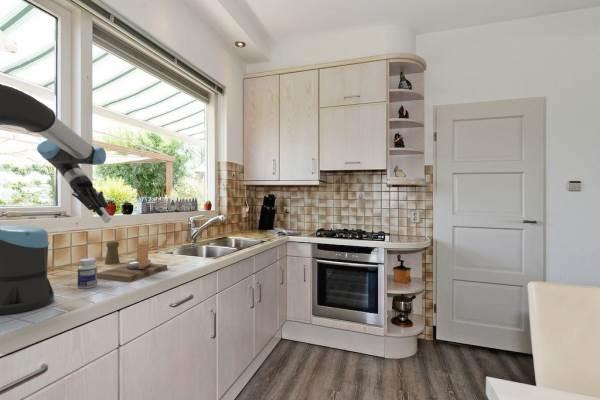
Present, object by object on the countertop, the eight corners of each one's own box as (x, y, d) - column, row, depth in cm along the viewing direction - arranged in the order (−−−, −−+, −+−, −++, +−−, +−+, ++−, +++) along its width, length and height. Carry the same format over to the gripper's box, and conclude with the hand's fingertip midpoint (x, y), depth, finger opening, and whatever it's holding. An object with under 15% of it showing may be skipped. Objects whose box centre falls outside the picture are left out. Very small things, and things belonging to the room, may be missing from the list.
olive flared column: (122, 262, 144) (122, 240, 144) (113, 265, 138) (113, 242, 138) (111, 261, 145) (111, 239, 145) (101, 264, 139) (102, 241, 139)
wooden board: (128, 282, 112) (128, 276, 112) (94, 278, 115) (95, 272, 115) (167, 269, 133) (167, 264, 133) (137, 266, 137) (138, 261, 137)
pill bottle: (82, 284, 107) (82, 257, 107) (99, 284, 108) (100, 257, 108) (74, 289, 101) (74, 261, 101) (92, 288, 103) (93, 260, 103)
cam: (154, 270, 121) (155, 243, 121) (130, 273, 116) (130, 244, 116) (147, 261, 137) (147, 237, 137) (125, 263, 132) (125, 238, 132)
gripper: (88, 188, 134) (116, 225, 129) (58, 186, 121) (88, 227, 117) (97, 176, 133) (126, 214, 128) (68, 173, 120) (99, 215, 116)
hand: (108, 220), depth 123 cm, fingers closed
